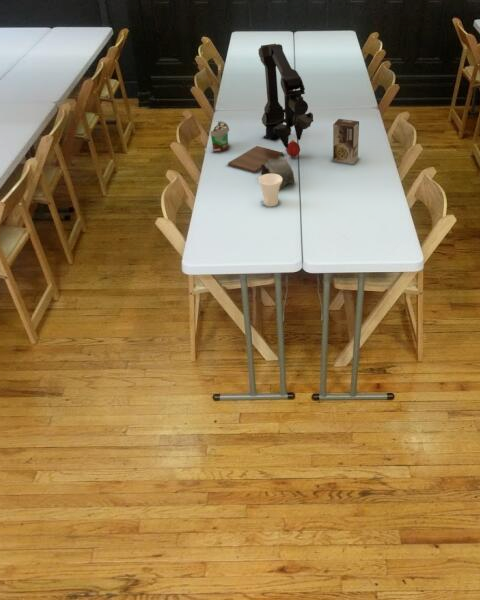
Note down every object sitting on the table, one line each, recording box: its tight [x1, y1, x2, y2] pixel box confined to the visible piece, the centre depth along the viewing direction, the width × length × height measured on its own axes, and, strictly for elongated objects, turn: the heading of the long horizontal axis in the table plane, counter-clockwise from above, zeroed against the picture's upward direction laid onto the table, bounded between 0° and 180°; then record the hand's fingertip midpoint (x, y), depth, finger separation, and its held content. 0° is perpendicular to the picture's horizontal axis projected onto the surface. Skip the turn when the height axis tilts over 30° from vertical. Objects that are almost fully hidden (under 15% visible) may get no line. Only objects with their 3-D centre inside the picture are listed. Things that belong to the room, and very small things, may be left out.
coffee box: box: [332, 118, 360, 165], centre depth 255 cm, size 9×6×16 cm
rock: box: [260, 155, 295, 190], centre depth 244 cm, size 18×11×8 cm, turn 16°
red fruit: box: [285, 139, 301, 159], centre depth 261 cm, size 6×6×8 cm
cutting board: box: [227, 145, 284, 174], centre depth 262 cm, size 20×14×1 cm
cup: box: [257, 174, 282, 207], centre depth 229 cm, size 9×9×10 cm
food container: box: [210, 120, 230, 154], centre depth 270 cm, size 12×6×10 cm, turn 168°
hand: (292, 143), depth 260 cm, fingers open, 9 cm apart
